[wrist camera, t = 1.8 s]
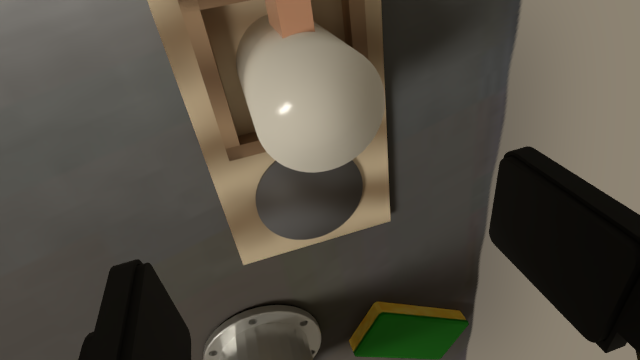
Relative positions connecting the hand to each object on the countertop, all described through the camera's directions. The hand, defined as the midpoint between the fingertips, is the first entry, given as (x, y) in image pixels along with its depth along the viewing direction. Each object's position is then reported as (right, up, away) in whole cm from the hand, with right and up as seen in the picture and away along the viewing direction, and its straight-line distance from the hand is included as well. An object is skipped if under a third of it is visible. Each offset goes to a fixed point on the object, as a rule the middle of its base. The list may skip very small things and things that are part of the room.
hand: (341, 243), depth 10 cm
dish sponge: (+10, -16, +38) cm, 42 cm away
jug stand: (-2, +6, +19) cm, 20 cm away
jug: (-3, +10, +15) cm, 18 cm away
